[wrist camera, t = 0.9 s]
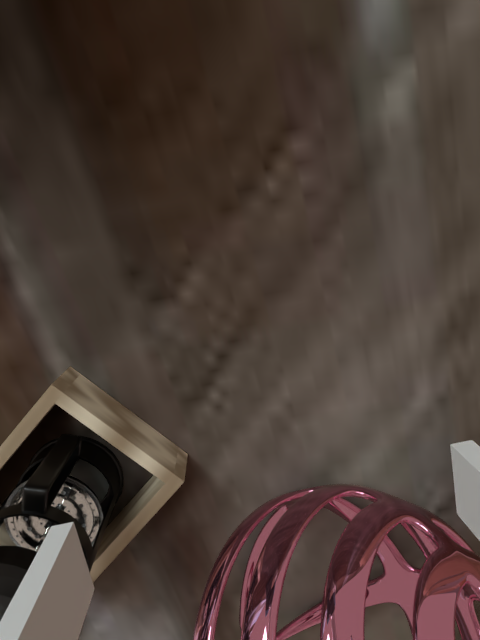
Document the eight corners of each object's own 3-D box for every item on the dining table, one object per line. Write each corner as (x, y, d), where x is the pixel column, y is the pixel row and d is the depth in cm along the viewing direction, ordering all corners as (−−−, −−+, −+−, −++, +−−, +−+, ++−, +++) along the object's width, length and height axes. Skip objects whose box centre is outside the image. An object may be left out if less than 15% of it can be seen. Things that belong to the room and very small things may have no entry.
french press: (117, 530, 47) (26, 813, 24) (24, 520, 46) (-159, 803, 23) (130, 425, 44) (43, 632, 22) (32, 413, 44) (-162, 614, 21)
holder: (-36, 494, 45) (-67, 527, 40) (70, 366, 43) (51, 384, 38) (82, 571, 47) (66, 611, 43) (187, 454, 45) (184, 481, 40)
